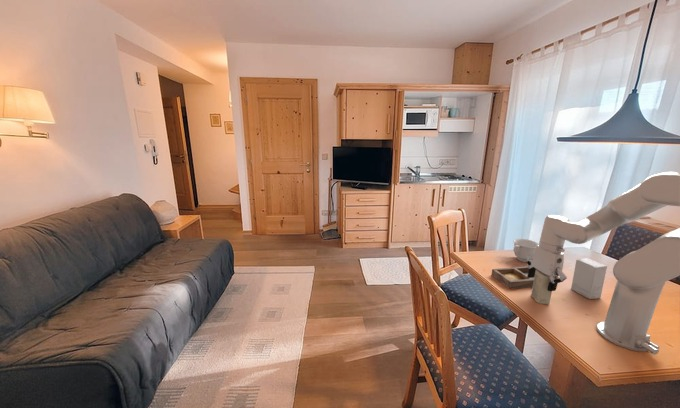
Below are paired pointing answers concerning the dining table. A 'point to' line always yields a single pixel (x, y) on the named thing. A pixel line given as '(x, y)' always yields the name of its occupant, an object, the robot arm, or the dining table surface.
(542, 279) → the skincare box
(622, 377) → the dining table surface
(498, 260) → the dining table surface
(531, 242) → the teacup
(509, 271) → the divided wooden tray
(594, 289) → the skincare box
